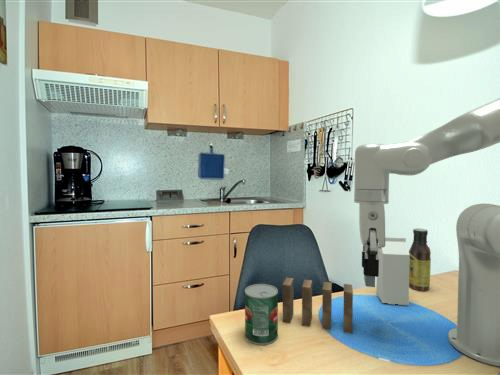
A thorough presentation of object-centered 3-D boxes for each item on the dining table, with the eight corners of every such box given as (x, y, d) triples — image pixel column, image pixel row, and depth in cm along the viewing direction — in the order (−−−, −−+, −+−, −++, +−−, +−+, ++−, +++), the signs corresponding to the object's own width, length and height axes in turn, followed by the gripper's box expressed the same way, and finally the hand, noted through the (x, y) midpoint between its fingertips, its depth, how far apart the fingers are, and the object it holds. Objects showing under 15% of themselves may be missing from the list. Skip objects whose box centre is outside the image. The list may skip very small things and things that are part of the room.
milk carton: (408, 306, 80) (410, 241, 79) (382, 304, 82) (383, 240, 81) (400, 295, 87) (401, 235, 86) (376, 293, 88) (377, 234, 88)
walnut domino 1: (293, 314, 76) (293, 278, 76) (290, 323, 71) (290, 285, 71) (286, 312, 77) (286, 277, 76) (282, 322, 72) (282, 284, 72)
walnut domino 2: (312, 316, 75) (312, 280, 74) (310, 326, 70) (310, 287, 69) (304, 315, 75) (304, 279, 75) (302, 325, 70) (302, 286, 70)
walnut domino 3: (331, 319, 73) (331, 282, 73) (330, 330, 68) (330, 290, 68) (323, 318, 74) (323, 281, 73) (322, 328, 69) (322, 289, 68)
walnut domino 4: (351, 322, 71) (352, 284, 71) (352, 333, 67) (352, 292, 66) (343, 321, 72) (343, 283, 72) (343, 332, 67) (343, 291, 67)
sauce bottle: (408, 282, 97) (409, 226, 96) (429, 286, 94) (430, 228, 93) (407, 289, 91) (408, 229, 90) (430, 293, 88) (431, 231, 87)
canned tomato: (240, 329, 69) (240, 286, 68) (269, 323, 71) (269, 281, 71) (252, 348, 61) (251, 299, 61) (283, 340, 64) (283, 294, 63)
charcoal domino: (372, 279, 69) (373, 240, 69) (374, 287, 65) (375, 244, 64) (364, 278, 70) (364, 239, 69) (365, 286, 65) (366, 244, 65)
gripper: (395, 200, 57) (393, 287, 58) (383, 194, 73) (381, 262, 74) (356, 199, 59) (354, 283, 60) (352, 193, 75) (351, 259, 76)
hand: (369, 270), depth 67 cm, fingers closed on charcoal domino, 4 cm apart
